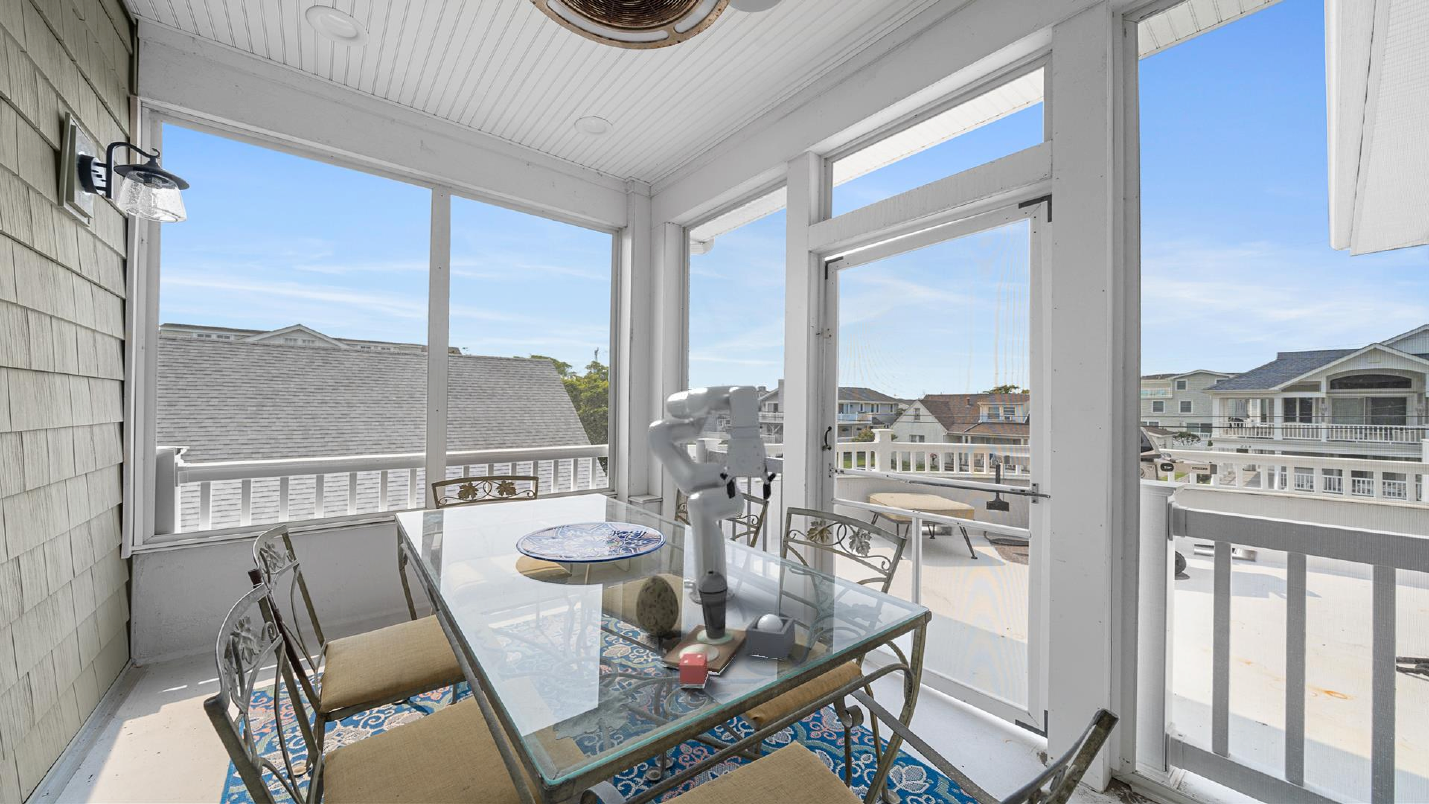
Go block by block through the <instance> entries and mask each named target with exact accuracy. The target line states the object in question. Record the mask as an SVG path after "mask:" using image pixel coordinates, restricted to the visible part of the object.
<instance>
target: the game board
mask: <svg viewBox="0 0 1429 804" xmlns="http://www.w3.org/2000/svg"><path fill="white" fill-rule="evenodd" d="M745 644H746V630H743V629H742V630H741V629H734V628H726V627H725V636H724V637H722V638H719V639H710V638H708V637H707V634H706V630H705V625H701V624H697V625H696V626H695V627H694V628H693V630H691V631H690V632H689V633H688V634H687V635H686V636H685V637H684V638H683V639H682V640H681V641H680V642H679V643H678V644H677V645H676V646H675V647H673V649H672V650H671V651H670V652H669V653H668V654H667V655H666V656H664V657H663V658H662V659H661V663H662V662H664V663H665V664H669V665H672V666H674V667H679V664H680V662H681V660H682V657H683V655H684V654H707V667H708V671H712V672H717V673H719V672H720V671H721V670H722V669H723V668H724V667H725V666H726V665H727V664H728V663H729V662H730V661H731V660H732V661H733V659H734V658H735V657H736V656H737V654H738V653H739V652H740V651H741V649H743V647H744V646H745ZM735 655H736V656H735ZM732 658H733V659H732ZM732 661H731V662H732ZM731 662H730V663H731ZM730 663H729V664H730Z"/></svg>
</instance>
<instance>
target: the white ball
mask: <svg viewBox="0 0 1429 804" xmlns="http://www.w3.org/2000/svg"><path fill="white" fill-rule="evenodd" d="M764 615H765V616H763V617H762V618H761V619H760V620H759V622H758V629H760V630H768V631H776V632H781V630H782V629H783V624H782V621H781V620H780V619H779V618H778V617H779V616H778V615H775V614H773V613H772V614H771V613H769V614H764Z"/></svg>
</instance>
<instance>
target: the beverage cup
mask: <svg viewBox="0 0 1429 804" xmlns="http://www.w3.org/2000/svg"><path fill="white" fill-rule="evenodd" d="M716 559H717V553H715V557H714V571H709V572H706V573H705V574H704V575H703V576H702V577H701V579H700V582H699V588H698V591H699V595H700V598H701V603H700V604H701V608H702V614H703V615H702V616H703V621H704V626H705V630H706V634H707V637H708V638H710V639H719V638H722V637H724V636H725V628H726V625H727V623H726V622H727V621H726V617H727V615H726V614H727V601H726V597H727V589H728V587H729V586H727V585H728V581H727V582H726V580H725V578H724V576H723V575H722V574H721V573H719V572H717V571H716Z"/></svg>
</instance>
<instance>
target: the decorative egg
mask: <svg viewBox="0 0 1429 804" xmlns="http://www.w3.org/2000/svg"><path fill="white" fill-rule="evenodd" d="M635 608H636V609H635V612H636V613H635V614H636V619H637V622H638V623H639V625H640V627H641V628H642V630H644V631H645V632H646V633H648V634H649V635H652V636H659V637H660V636H663V635H665V634H668V633H669V632H671V630H672V629H673V628H674V627H675V625H676V623H677V621H678V619H679V612H680V607H679V602H678V597H677V594H676V593H675V590H674V588H673V587H672V585H671V584H670V583H669V582H668V580H667V579H666V578H664V577H662V576H660V575H657V574H656V575H651V576H649V577H648V578H647V579H646V580H645V581H644V582H643V584H642V585H641V587H640V589H639V592H638V595H637V598H636V605H635Z"/></svg>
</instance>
